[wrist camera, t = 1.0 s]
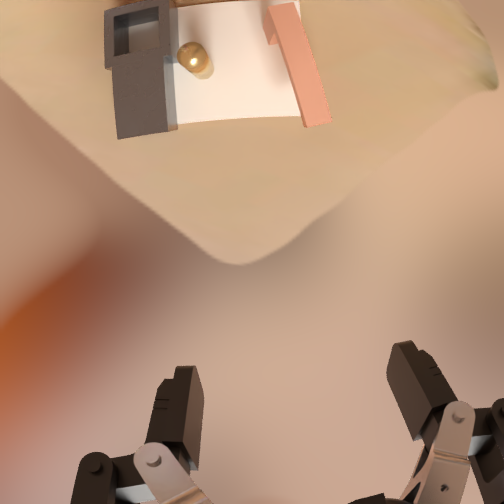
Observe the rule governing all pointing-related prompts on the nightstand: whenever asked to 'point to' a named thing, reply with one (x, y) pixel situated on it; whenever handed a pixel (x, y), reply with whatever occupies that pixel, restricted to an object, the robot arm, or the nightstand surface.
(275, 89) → the board
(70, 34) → the nightstand surface
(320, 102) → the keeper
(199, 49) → the cylinder
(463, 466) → the robot arm
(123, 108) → the link
